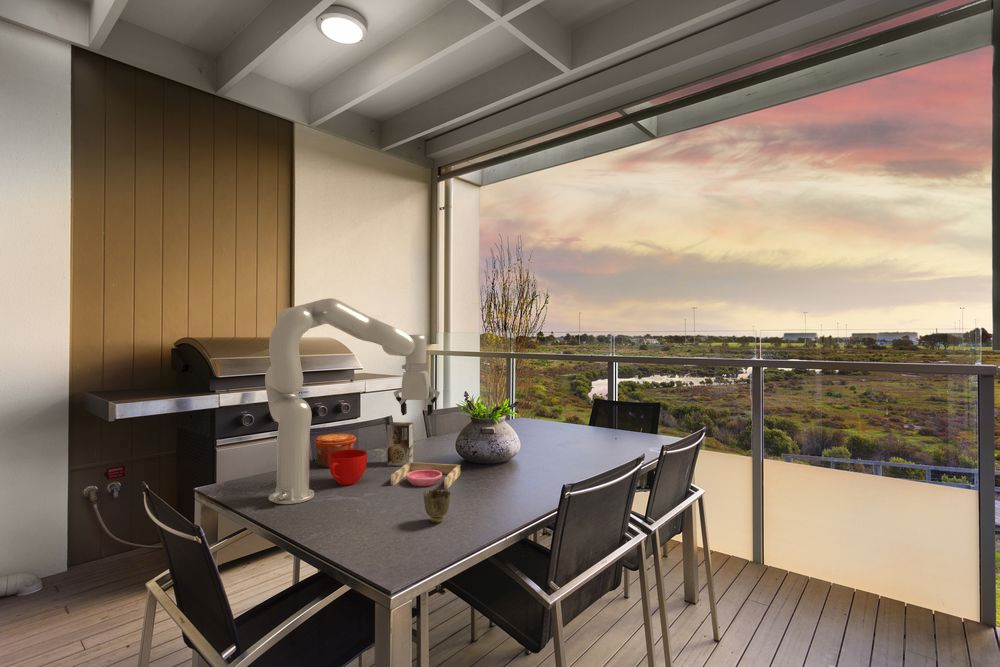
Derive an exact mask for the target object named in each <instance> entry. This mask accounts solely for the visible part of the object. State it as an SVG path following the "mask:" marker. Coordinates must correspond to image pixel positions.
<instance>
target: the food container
mask: <svg viewBox="0 0 1000 667" xmlns="http://www.w3.org/2000/svg"><path fill="white" fill-rule="evenodd" d="M356 441H357V437H356V436H355V435H354V434H349V433H330V434H329V433H328V434H327V433H326V434H325V435H324V434H322V435H318V436H317V437H316V438H314V440H313V442H314V444H315V449H316V459H317V465H318V467H321V468H324V469H330V467H329V454H330V453H332V452H335V451H340V450H355V442H356Z"/></svg>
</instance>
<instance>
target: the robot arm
mask: <svg viewBox="0 0 1000 667" xmlns="http://www.w3.org/2000/svg"><path fill="white" fill-rule="evenodd" d="M323 325H328V326H331V327H334V328H335V329H337V330H340V331H342V332H344V333H345V334H348V335H349V336H351V337H354V338H355V339H358V340H361V341H364V342H369V343H373V344H375V345H379V346H381V347H382V350H383V352H385V353H386V354H387V355H389V356H395V357H405V364H402V365H401V369H402V370H404V371H405V372H403V374H402V379H401V388H398V389H397V390H395V391H393V396H394V397H395V399H396V401H397V402H398V403H399V405H400V413H401V416H406V415H407V413H408V412H407V408H408V407H407V403H406V402H407V401H411V400H412V401H424V400H425V402H427V403H428V404H427V406H426V407H427V409H426V410H427V416H431V415H432V414H433V413H434V403H435V402H436V401H437V400H438V398H439V397H440V395H441V393H440V391H438V389H437V390H436V389H434V388H433V387H431V379H430V375H429V374H430V373H429V371H427V338H426V335H424V334H407V333H405V332H404V331H402V330H400V329H398V328H397V327H394V326H392V325H390V324H387V323H385V322H383V321H380V320H379V319H376V318H373V317H371V316H369V315H367V314H365V313H363V312H361V311H359V310H357V309H355V308H354V307H352V306H351V305H348V304H347V303H345V302H342V301H341V300H339V299H336V298H323V299H318V300H315V301H312V302H307V303H304V304H299V305H295V306H292V307H288V308H284V309H283V310H281V311H280V312H279V313H278V315H277V317H276V323H275V325H274V327H273V329H272V330H271V333H270V336H269V341H268V350H269V359H270V366H269V367H268V369H267V370H266V372H265V376H264V382H265V383H264V384H265V390H266V396H267V397H266V399H267V404H268V409H269V412H270V415H271V417H272V419H273V420H274V421H275V422H277V423H278V428H277V435H276V436H277V437H276V487H275V491H274V492H273V493H271V494H269V495H268V500H269V501H271V502H272V503H274V504H279V505H293V504H301V503H303V502H304V503H305V502H307V501H309V500H311V499H313V498H314V497H315V491H314V490H313V489H311V488H310V436H311V435H310V433H311V426H312V419H313V418H312V417H313V416H312V415H313V414H312V409H311V406H310V405H309V403H308V402H307V401H306V400H305V399H303V398H301V397H299V391H300V389H301V388H302V387H303V383H304V375H303V368H302V363H301V362H302V361H301V355H300V341H301V339H302V337H303V335H304V334H305V333H307V332H308V331H309V330H310V329H314V328H317V327H320V326H323ZM400 393H401V394H400ZM432 394H434V396H433V397H431V396H432ZM400 395H401V396H400Z"/></svg>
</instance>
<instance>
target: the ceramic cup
mask: <svg viewBox="0 0 1000 667" xmlns="http://www.w3.org/2000/svg"><path fill="white" fill-rule="evenodd" d="M367 463H368V452H367V451H366V450H362V449H354V450H340V451H335V452H332V453H330V454H329V467H330V468H329V472H330V475H331V476H332V478H333V479H334V481H336V482H337V484H338V485H341V486H349V485H350V486H351V485H355V484H358V483H359V481H360V479H361V478H362V477H363V476H364V474H365V472H366V468H367Z"/></svg>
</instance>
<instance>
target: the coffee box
mask: <svg viewBox="0 0 1000 667" xmlns="http://www.w3.org/2000/svg"><path fill="white" fill-rule="evenodd" d="M386 428H387V434H386V435H387V440H386V442H387V447H386V448H387V449H386V450H387V451H386V452H387V453H386V454H387V458H386V459H387V460H386V461H387V463H386V464H387V466H395V467H396V466H398V467H399V466H400V467H403V466H404V465H406V464H407V463H408V462H414V422H404V421H403V422H402V421H401V422H400V421H397V422H395V421H394V422H393V421H391V422H390V423H389V424H387V426H386Z"/></svg>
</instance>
